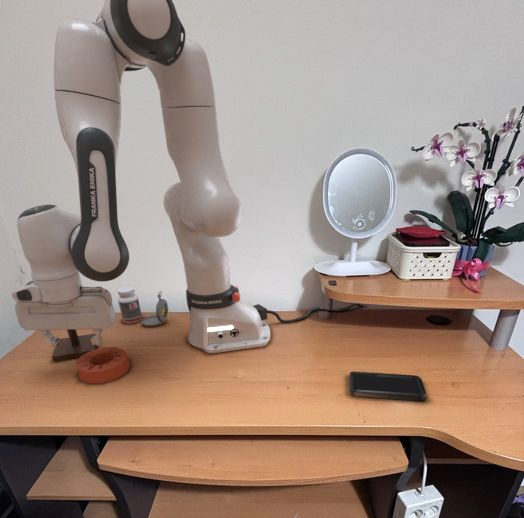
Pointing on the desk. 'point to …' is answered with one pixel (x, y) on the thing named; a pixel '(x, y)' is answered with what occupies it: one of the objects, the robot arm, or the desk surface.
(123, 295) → the pill bottle
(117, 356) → the ring
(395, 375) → the phone
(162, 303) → the pocket watch
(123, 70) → the robot arm
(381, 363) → the desk surface
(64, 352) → the peg on square base
